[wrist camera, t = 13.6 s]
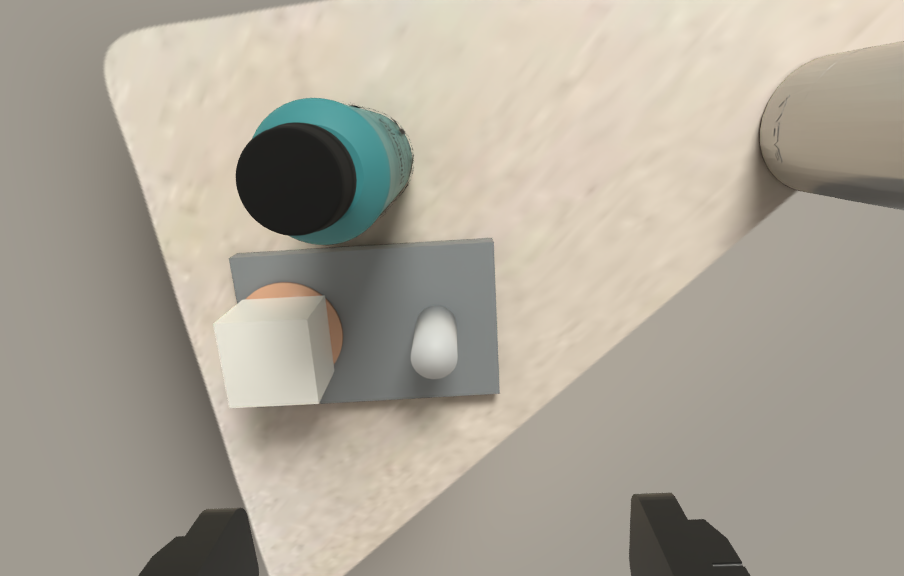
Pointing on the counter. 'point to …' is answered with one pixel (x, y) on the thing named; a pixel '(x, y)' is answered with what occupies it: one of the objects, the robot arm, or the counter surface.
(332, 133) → the beverage bottle
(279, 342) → the off-white matte cube
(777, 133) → the robot arm
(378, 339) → the post board
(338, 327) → the tan flat disc
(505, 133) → the counter surface
